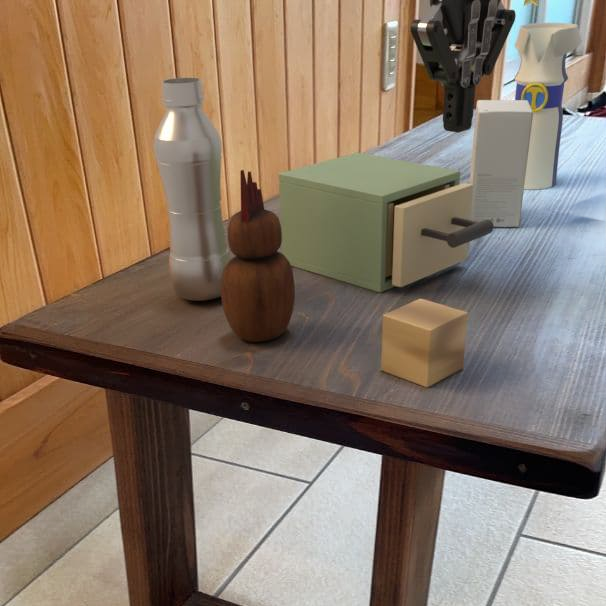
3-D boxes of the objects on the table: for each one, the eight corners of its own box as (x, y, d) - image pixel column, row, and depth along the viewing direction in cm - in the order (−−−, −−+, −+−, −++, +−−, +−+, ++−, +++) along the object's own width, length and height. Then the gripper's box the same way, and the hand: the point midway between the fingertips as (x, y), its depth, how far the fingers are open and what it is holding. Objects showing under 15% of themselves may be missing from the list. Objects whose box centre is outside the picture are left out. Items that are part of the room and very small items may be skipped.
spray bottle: (555, 192, 117) (585, -25, 102) (493, 187, 120) (514, -25, 105) (565, 178, 123) (595, -29, 109) (506, 173, 126) (528, -29, 111)
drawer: (503, 268, 90) (512, 191, 86) (437, 298, 84) (443, 216, 79) (373, 235, 101) (375, 165, 96) (306, 259, 94) (304, 186, 90)
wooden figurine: (258, 354, 76) (247, 178, 67) (213, 339, 79) (197, 168, 71) (307, 331, 80) (303, 161, 72) (262, 317, 84) (253, 153, 75)
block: (417, 352, 76) (420, 297, 73) (463, 368, 73) (468, 312, 70) (380, 370, 73) (382, 314, 70) (427, 387, 70) (430, 330, 67)
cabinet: (453, 262, 95) (460, 170, 89) (380, 292, 88) (382, 196, 82) (356, 237, 104) (356, 152, 98) (282, 263, 96) (278, 173, 91)
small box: (519, 228, 105) (534, 111, 97) (467, 227, 105) (477, 111, 98) (515, 209, 111) (528, 98, 103) (466, 209, 112) (475, 99, 104)
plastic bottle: (245, 289, 90) (230, 76, 78) (214, 312, 85) (193, 88, 73) (192, 282, 92) (170, 73, 80) (159, 303, 87) (130, 85, 75)
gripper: (463, -99, 64) (446, 148, 75) (556, -101, 72) (529, 123, 82) (387, -96, 69) (381, 137, 79) (482, -98, 76) (466, 115, 87)
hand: (457, 130), depth 81 cm, fingers closed
